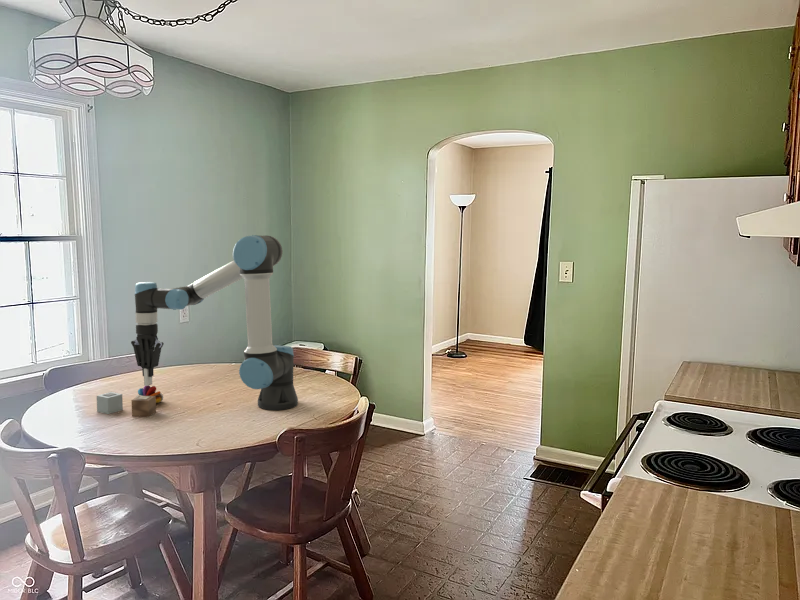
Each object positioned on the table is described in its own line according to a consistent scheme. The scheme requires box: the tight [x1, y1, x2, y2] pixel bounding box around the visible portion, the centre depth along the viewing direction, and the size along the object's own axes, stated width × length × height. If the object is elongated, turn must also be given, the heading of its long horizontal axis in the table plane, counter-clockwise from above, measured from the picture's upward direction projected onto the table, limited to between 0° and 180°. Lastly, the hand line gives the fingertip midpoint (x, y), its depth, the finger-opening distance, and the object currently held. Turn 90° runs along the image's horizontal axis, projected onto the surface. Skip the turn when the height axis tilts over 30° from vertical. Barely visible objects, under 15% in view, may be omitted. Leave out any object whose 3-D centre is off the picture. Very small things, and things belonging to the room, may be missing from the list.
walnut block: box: [131, 396, 157, 418], centre depth 212 cm, size 6×6×6 cm
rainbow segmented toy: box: [134, 385, 164, 404], centre depth 225 cm, size 8×10×7 cm
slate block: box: [96, 391, 124, 415], centre depth 215 cm, size 6×6×6 cm
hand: (148, 384), depth 224 cm, fingers closed
